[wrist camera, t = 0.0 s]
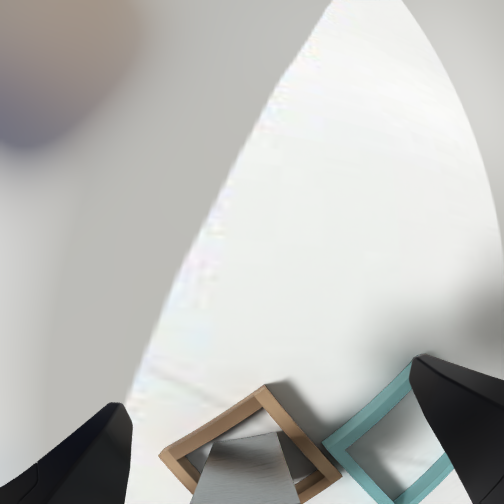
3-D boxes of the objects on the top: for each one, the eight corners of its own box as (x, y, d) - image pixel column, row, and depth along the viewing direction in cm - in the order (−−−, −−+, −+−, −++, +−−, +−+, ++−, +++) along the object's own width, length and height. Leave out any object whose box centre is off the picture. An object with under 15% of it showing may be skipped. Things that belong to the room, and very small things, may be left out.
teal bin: (468, 434, 19) (480, 437, 17) (388, 513, 17) (396, 521, 15) (417, 355, 22) (429, 355, 20) (321, 442, 20) (327, 449, 18)
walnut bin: (336, 467, 19) (342, 476, 17) (239, 525, 17) (239, 537, 15) (264, 384, 22) (265, 387, 20) (164, 448, 20) (157, 455, 18)
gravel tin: (287, 481, 19) (317, 572, 7) (227, 491, 19) (212, 586, 7) (275, 431, 20) (302, 507, 8) (213, 442, 20) (182, 523, 8)
